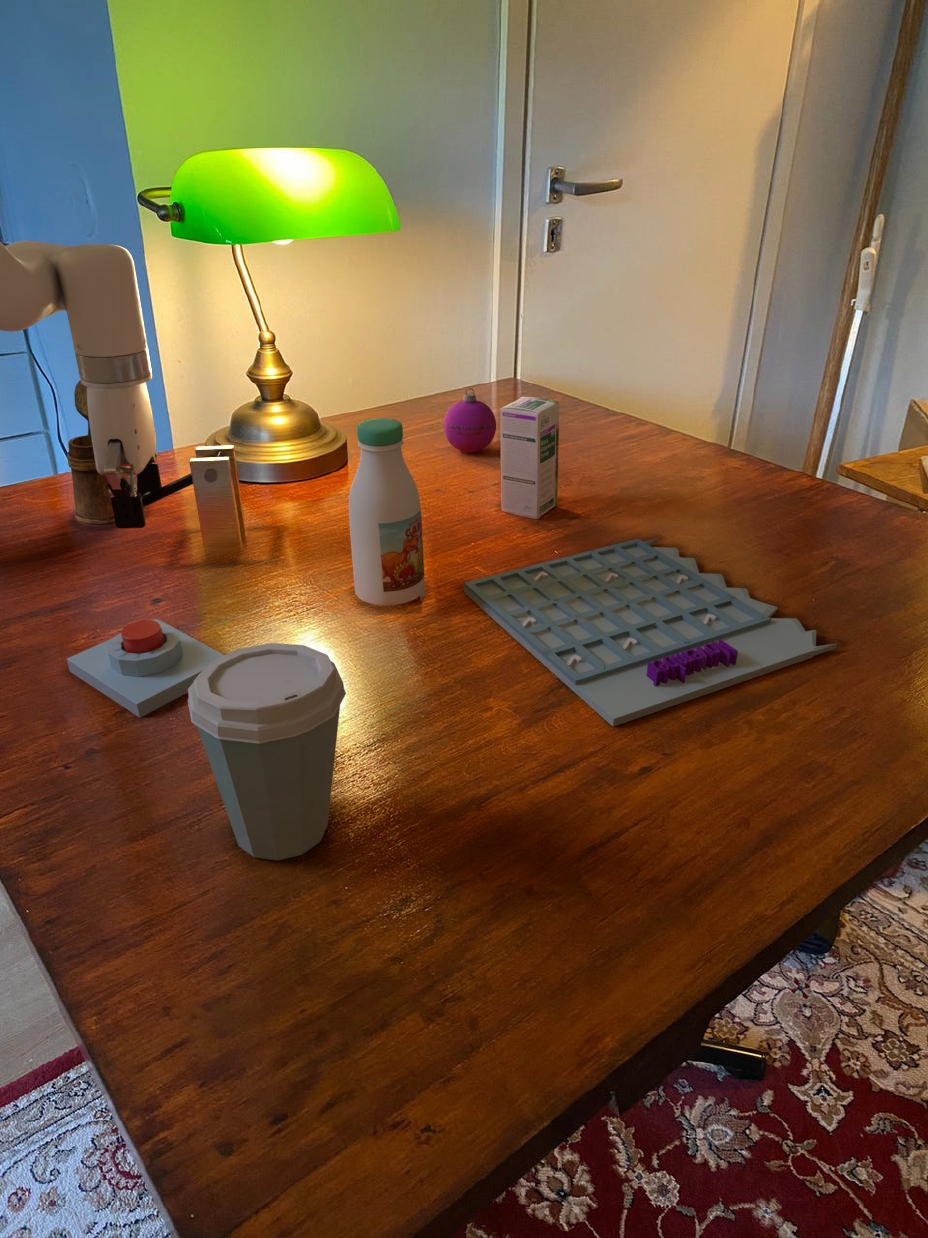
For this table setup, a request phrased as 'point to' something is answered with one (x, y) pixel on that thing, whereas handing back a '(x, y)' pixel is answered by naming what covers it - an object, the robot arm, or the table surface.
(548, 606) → the calendar
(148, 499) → the switch
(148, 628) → the button
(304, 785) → the disposable coffee cup
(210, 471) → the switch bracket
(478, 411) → the christmas ornament
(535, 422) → the syrup box
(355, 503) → the milk bottle
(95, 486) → the wooden mug
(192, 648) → the control block
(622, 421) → the table surface
